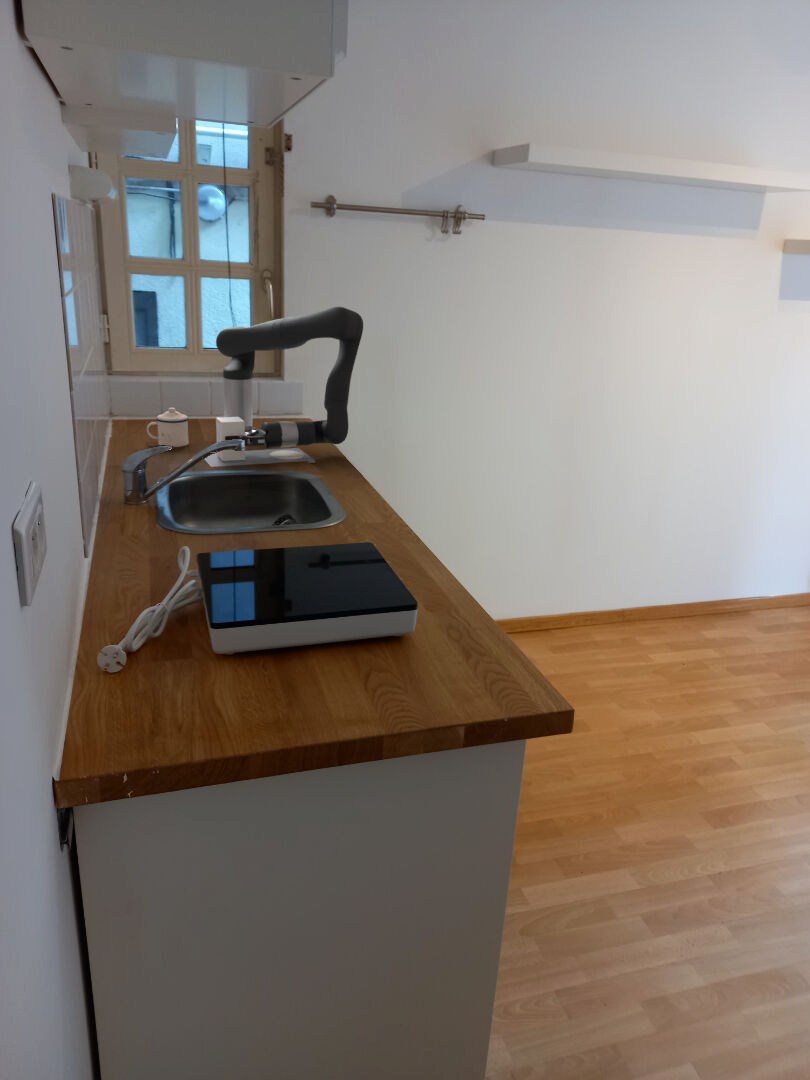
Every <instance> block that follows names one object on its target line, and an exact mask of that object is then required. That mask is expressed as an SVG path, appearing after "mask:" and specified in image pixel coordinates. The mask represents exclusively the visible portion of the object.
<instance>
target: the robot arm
mask: <svg viewBox="0 0 810 1080" xmlns="http://www.w3.org/2000/svg"><path fill="white" fill-rule="evenodd" d="M363 331H364V319H363V317H362V316H361V315H360V314H359V313H358V312H356V311H353V310H351V309H349V308H346V307H343V306H333V307H329V308H327V309H323V310H321V311H317V312H314V313H310V314H302V315H295V316H288V317H284V318H283V317H282V318H278V319H274V320H273V319H272V320H268V321H266V322H262V323H257V324H255V325H252V326H247V327H245V326H235V327H234V326H233V327H232V326H231V327H225V328H223V329H222V330H221V331H219V333H217V336H216V339H215V346H216V347H217V350H218V351H219V353H220V354H221V355H224V356H225V357H228V358H231V360H230V362H229V363H228V365H226V366H225V367H224V368H223V371H222V377H223V380H222V381H223V383H222V386H223V417H240V418H241V419H242V420H243V421H245V435H239V436H238V435H237V436H226V437H225V440H232V439H242V440H245V447H255V446H262V447H263V448H265V449H282V448H291V447H297V446H299V447H300V446H310V445H313V444H332V445H340V444H342V443H343V442H345V440H346V439H347V437H348V434H349V413H348V404H349V396H350V389H351V387H350V386H351V380H352V376H353V370H354V368H355V367H354V366H355V363H356V358H357V355H358V351H359V346H360V344H361V340H362V337H363ZM326 338H327V339H335V340H338V341H339V347H338V354H337V358H336V361H335V363H334V365H333V367H332V369H331V371H330V372H329V374H328V377H327V380H326V385H325V392H324V399H323V400H324V402H323V403H324V405H323V406H324V409H325V410H326V412H327V413H326V419H321V420H315V421H307V420H306V421H304V420H303V421H302V420H301V421H287V420H286V421H284V420H283V421H280V420H279V421H264V422H262V424H261V426H260V429H259V428H256V427H253V372H254V369H255V359H256V358H255V356H256V352H258V351H262V352H263V351H268V352H269V351H280V350H281V351H283V350H290V349H295V348H300V347H301V346H303V345H305V344H306V343H307V342H310V340H315V339H326Z"/></svg>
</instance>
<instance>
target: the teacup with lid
mask: <svg viewBox="0 0 810 1080" xmlns="http://www.w3.org/2000/svg"><path fill="white" fill-rule="evenodd" d="M188 422H189V417H188V416H187V415H186V414H183V413H181V412H179V411H177V410H176V408H175V407H168V411H165V412H164V413H161V414H159V415H157V417H156V421H151V422H150V423H148V424H147V427H146V432H147V434H148V436H149V437H150V438H152V439H154V440H158V446H161V445H171V446H173V447H172V448H180V447H185V446H187V445H189V425H188V424H189V423H188ZM156 425H157V435H154V434H152V432H151V430H150V427H152V426H156Z"/></svg>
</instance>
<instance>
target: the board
mask: <svg viewBox="0 0 810 1080" xmlns="http://www.w3.org/2000/svg"><path fill="white" fill-rule="evenodd" d="M214 453H215V454H212V455H210V456H208V457H207V458H205V459H203V460H204V462H206V463H207V464H208V466H210V468H214V467H215V468H216V467H217V468H218V467H229V466H232V467H233V466H246V465H247V466H248V465H262V464H263V465H264V464H278V463H279V464H280V463H292V462H293V463H294V462H297V463H298V462H308V463H309V464H310V463H315V464H316V459H314V458H313V457H311V456H310V455H309V454H308V453H306V452H305V451H303V450H302V449H300V448H299V447H294V448H293V447H292V448H291V447H286V448H268V449H254V450H252V449H251V450H245V460H233V461H222V460H221V459H220V458H219V457H218V456H217V453H216V452H214Z"/></svg>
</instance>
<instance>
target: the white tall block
mask: <svg viewBox="0 0 810 1080" xmlns="http://www.w3.org/2000/svg"><path fill="white" fill-rule="evenodd" d="M215 425H216V426H215V427H216V428H215V429H216V431H215V432H216V444H217V443H218V442H221V441H225V437H226V436H237V435H238V436H239V435H245V421H243V420H242V419H241V418H240V417H224V416H220V417H215ZM245 451H246V448H245V449H244V450H243V451H235V450H223V451H220V452H217V451H216V452H217V456H218V457H219V458H220V459H221V460H222V461H233V460H245Z"/></svg>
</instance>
